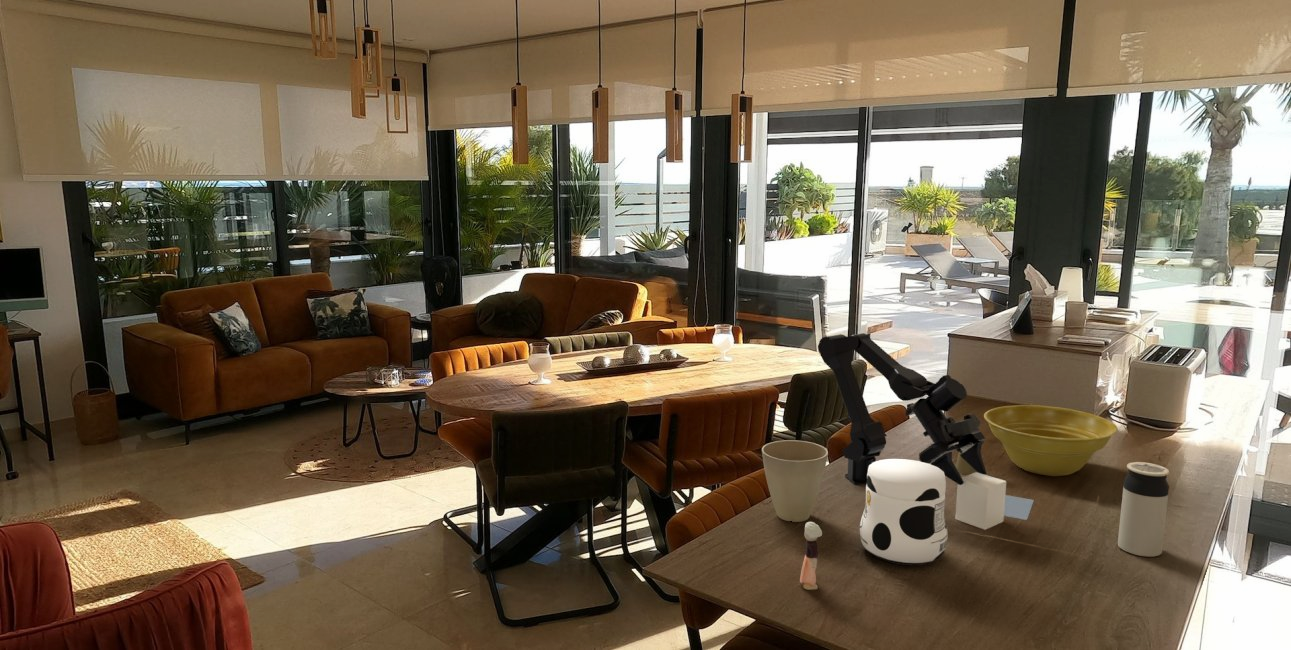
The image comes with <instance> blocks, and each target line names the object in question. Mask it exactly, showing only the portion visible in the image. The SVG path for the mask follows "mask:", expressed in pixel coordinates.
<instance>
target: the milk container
mask: <svg viewBox="0 0 1291 650" xmlns="http://www.w3.org/2000/svg"><path fill="white" fill-rule="evenodd" d="M946 489H947V483H946V476H945V474H944V472H943V471H942V470H941V469H939V468H938V467H936V466H933V465H931V463H930V464H928V463H924V462H920V460H914V459H905V458H887V459H880V460H876V462H873V463H872V464H870V465H869V467H868V473H867V483H866V485H865V505H864V510H863V513H862V516H861V519H860V523H859V536H860V541H861V544H862V546H863V548H864V549H865V550H866V551H867V552H868V553H869V554H871V555H873V556H875V557H876V558H878V559H880V560H883V561H886V562H889V563H892V564H898V565H904V566H922V565H928V564H930V563H933V562H935V561H937V560H939V559H941V557H942V556H943V555H944V554H945V551H946V547H947V544H948V528H947V523H946V520H945V519H946V518H945V504H946Z"/></svg>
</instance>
